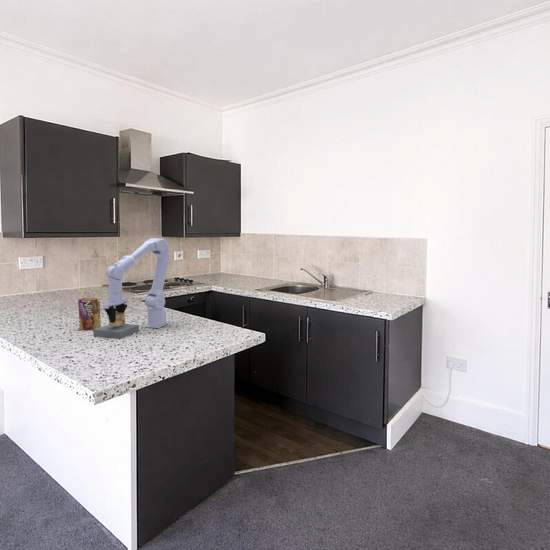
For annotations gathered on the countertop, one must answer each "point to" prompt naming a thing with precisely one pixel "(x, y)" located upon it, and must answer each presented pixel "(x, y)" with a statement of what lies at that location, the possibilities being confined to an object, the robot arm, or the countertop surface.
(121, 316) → the tan cube
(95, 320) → the candy box
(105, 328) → the base block
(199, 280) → the countertop surface
